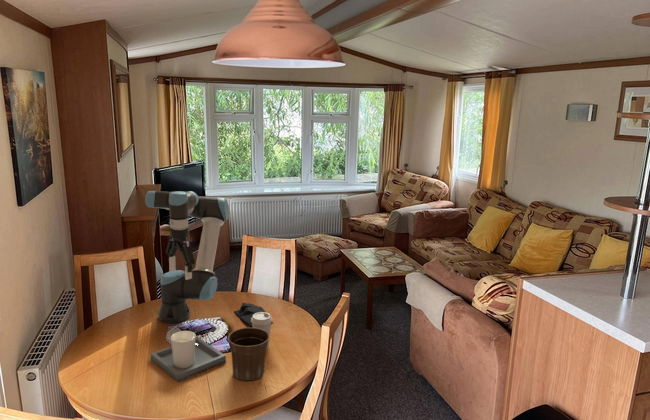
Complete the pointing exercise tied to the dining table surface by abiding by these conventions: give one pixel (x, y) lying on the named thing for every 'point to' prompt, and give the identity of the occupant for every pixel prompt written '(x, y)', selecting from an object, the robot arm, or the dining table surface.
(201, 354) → the tray
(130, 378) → the dining table surface
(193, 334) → the candle holder
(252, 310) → the dark grey crumpled cloth
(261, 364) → the plant pot
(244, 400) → the dining table surface
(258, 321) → the coffee cup
